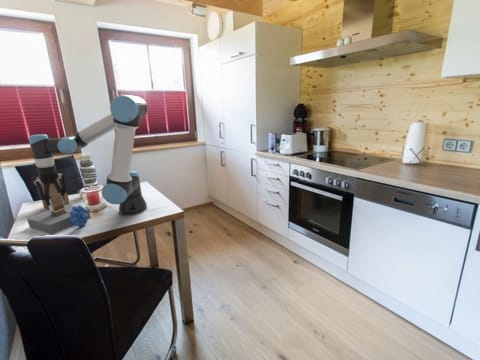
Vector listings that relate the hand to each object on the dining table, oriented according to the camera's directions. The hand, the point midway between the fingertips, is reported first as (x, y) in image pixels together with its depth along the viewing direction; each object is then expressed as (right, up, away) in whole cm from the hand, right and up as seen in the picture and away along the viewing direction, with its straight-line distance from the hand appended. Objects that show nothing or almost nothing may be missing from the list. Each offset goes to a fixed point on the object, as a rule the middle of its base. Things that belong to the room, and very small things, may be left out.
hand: (57, 208), depth 133 cm
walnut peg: (0, -5, +2) cm, 6 cm away
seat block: (0, -8, +2) cm, 8 cm away
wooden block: (-19, -1, +26) cm, 32 cm away
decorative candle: (-7, +5, +45) cm, 46 cm away
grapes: (+16, -9, -4) cm, 19 cm away
